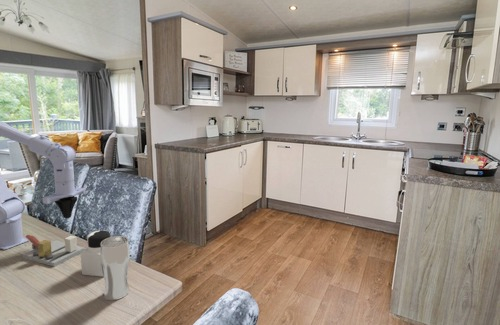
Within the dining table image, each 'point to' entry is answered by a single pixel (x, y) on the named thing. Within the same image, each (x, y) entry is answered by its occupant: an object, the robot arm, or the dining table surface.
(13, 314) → the dining table surface
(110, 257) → the beer glass
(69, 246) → the white slider
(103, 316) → the dining table surface
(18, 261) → the dining table surface
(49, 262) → the panel
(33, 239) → the red paddle
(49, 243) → the brass slider
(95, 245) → the medicine bottle
